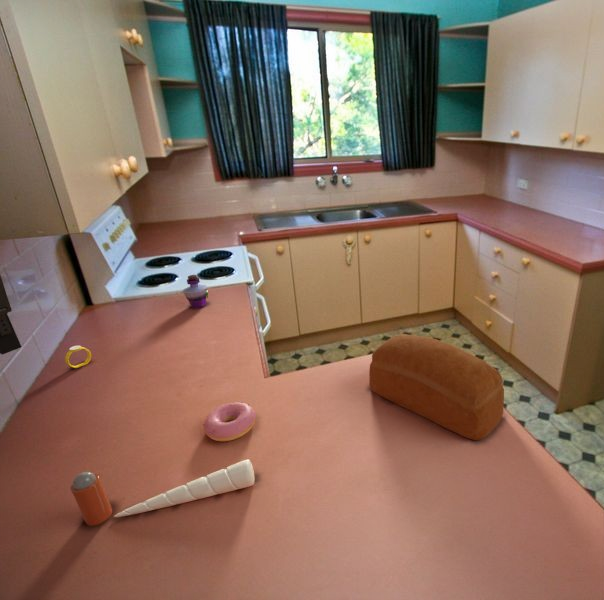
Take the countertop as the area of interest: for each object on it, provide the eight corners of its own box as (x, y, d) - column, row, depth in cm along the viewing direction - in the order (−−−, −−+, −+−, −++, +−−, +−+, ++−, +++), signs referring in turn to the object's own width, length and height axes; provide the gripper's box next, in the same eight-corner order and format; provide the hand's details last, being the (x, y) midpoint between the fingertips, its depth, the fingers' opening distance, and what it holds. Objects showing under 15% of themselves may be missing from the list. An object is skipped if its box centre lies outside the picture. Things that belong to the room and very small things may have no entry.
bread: (478, 447, 88) (481, 384, 82) (364, 390, 108) (360, 336, 101) (508, 413, 98) (513, 355, 92) (399, 367, 117) (397, 316, 111)
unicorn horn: (120, 501, 78) (113, 482, 76) (255, 472, 84) (251, 453, 82) (112, 523, 74) (104, 503, 72) (255, 490, 80) (250, 471, 78)
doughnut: (259, 436, 93) (255, 421, 91) (204, 451, 89) (200, 435, 88) (255, 407, 102) (252, 393, 101) (206, 419, 99) (202, 405, 97)
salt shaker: (81, 520, 75) (61, 478, 71) (104, 503, 78) (87, 462, 74) (93, 529, 73) (74, 487, 69) (117, 511, 76) (100, 470, 72)
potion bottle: (215, 304, 160) (209, 275, 156) (192, 312, 155) (185, 281, 150) (204, 299, 166) (198, 270, 161) (182, 306, 160) (175, 276, 155)
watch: (72, 372, 120) (65, 353, 117) (67, 369, 121) (60, 351, 118) (95, 362, 124) (88, 344, 122) (89, 359, 126) (83, 342, 123)
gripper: (-1, 207, 62) (55, 348, 72) (-40, 202, 68) (17, 332, 77) (-71, 218, 56) (0, 370, 66) (-107, 211, 62) (-36, 351, 71)
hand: (10, 349), depth 71 cm, fingers closed
